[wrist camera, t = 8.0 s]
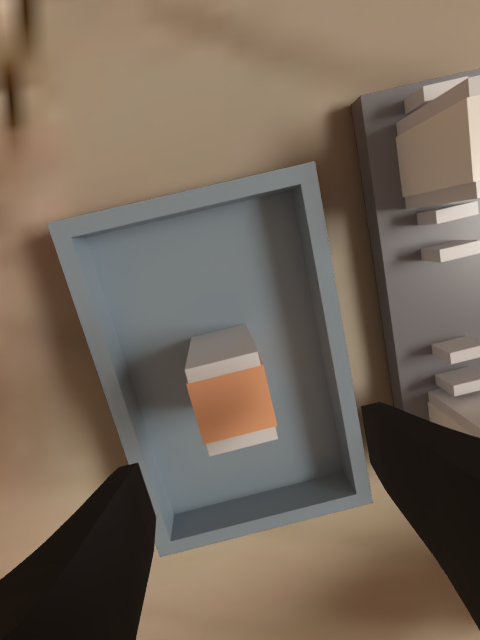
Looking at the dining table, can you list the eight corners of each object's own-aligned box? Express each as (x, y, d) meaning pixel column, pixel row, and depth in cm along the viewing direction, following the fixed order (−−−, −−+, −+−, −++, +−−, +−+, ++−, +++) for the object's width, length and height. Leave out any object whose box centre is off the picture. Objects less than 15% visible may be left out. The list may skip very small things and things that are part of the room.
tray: (355, 474, 23) (372, 502, 20) (165, 522, 22) (160, 557, 20) (301, 171, 19) (314, 161, 16) (68, 225, 18) (46, 223, 16)
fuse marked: (264, 391, 20) (280, 438, 16) (208, 405, 20) (207, 457, 16) (247, 323, 20) (259, 351, 15) (189, 337, 20) (182, 370, 15)
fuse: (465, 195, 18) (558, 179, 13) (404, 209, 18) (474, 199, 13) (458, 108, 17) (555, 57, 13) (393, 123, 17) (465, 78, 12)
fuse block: (495, 446, 23) (533, 473, 20) (403, 469, 23) (429, 500, 20) (467, 78, 18) (512, 49, 16) (350, 104, 18) (375, 81, 15)
